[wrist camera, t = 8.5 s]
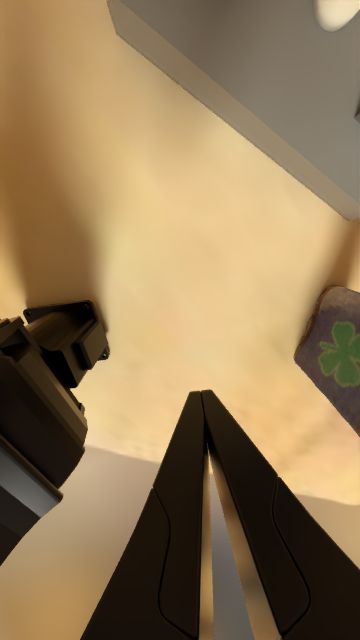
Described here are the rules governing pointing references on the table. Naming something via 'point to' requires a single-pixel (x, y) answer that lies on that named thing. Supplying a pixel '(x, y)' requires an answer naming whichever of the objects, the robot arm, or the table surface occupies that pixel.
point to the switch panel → (267, 77)
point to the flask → (335, 351)
